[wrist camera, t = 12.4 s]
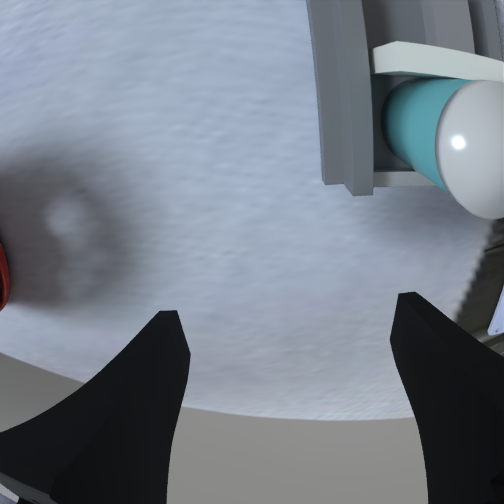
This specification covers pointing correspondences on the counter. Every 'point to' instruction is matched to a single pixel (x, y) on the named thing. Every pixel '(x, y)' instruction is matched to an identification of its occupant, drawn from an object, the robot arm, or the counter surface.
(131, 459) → the robot arm
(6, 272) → the plant pot
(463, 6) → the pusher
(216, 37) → the counter surface
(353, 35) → the lane
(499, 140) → the jar
